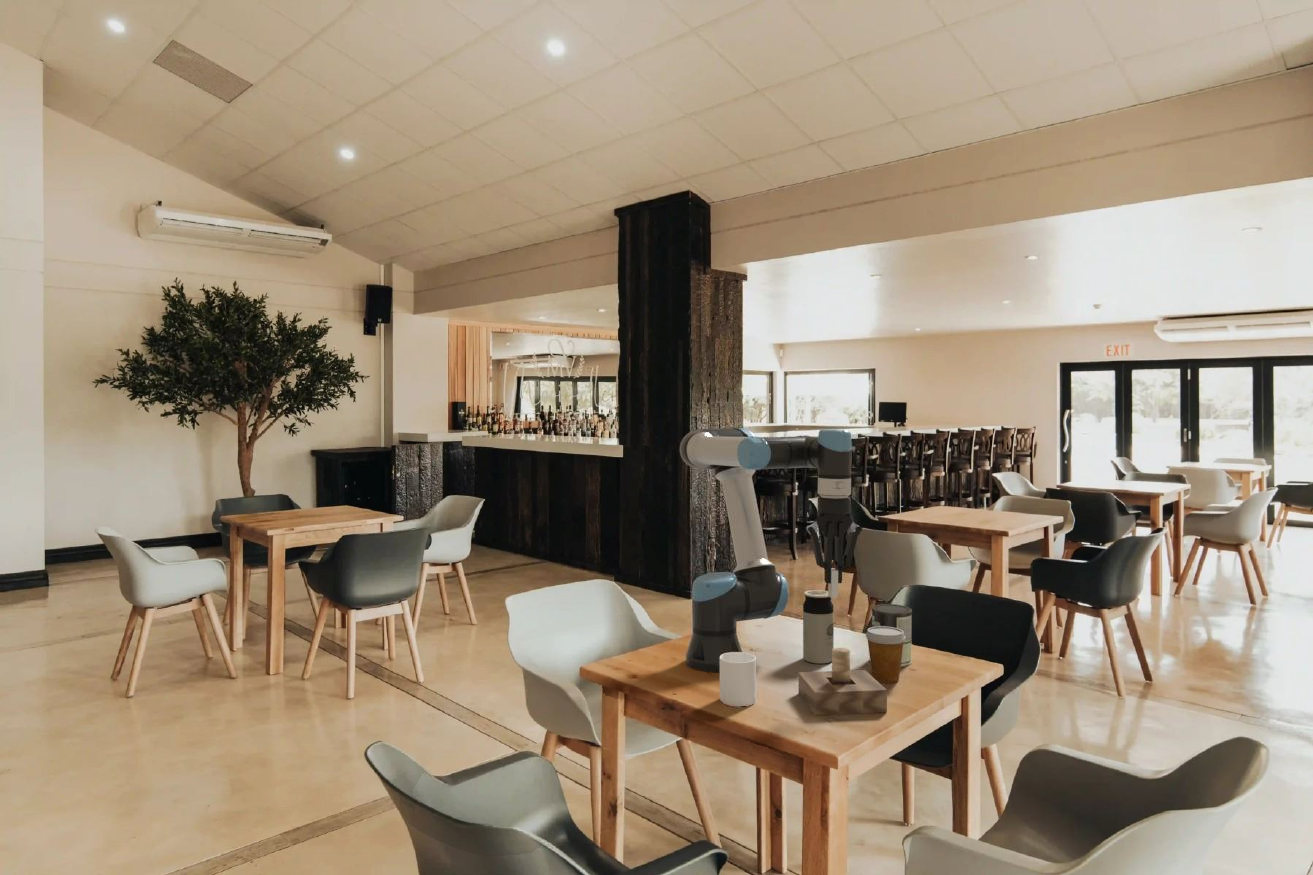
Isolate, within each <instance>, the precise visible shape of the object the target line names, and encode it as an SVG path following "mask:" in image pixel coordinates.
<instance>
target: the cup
mask: <svg viewBox="0 0 1313 875" xmlns="http://www.w3.org/2000/svg"><path fill="white" fill-rule="evenodd" d="M719 700H720V702H721V701H722V702H723V703H724V704H723V703H722V702H721V703H722V704H723V705H725V704H728V705H732V706H747V707H749V706H748V705H751V706H752V704H753V705H754V704H755V703H756V700H757V657H756V656H755V655H754V654H752V653H749V652H743V651H742V652H730V653H725V654H722V655H721V656H720V672H719Z"/></svg>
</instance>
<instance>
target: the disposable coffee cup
mask: <svg viewBox="0 0 1313 875" xmlns="http://www.w3.org/2000/svg"><path fill="white" fill-rule="evenodd" d="M865 638H866V639H867V646H868V654H869V655H868V656H869V661H870V667H871V676H872V677H873V678H874V679H875V680H876V681H878V682H879V683H884V684H885V683H886V684H893V683H897V682H899V680H900V672H901V667H900V666H901V658H902V650H903V643H904V640H905V638H906V637H905V636H904V632H903V630H901V629H898V628H894V627H886V626H877V627H872V626H871V627H869V628H867V631H866V633H865Z"/></svg>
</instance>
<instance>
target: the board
mask: <svg viewBox="0 0 1313 875" xmlns="http://www.w3.org/2000/svg"><path fill="white" fill-rule="evenodd" d="M797 675H798V676H797V677H798V695H799V696H800V698H801V699H802V700H803V701H804V703H805V704H806V705H807V706H808V708H809V709H810V710H811V712H812V713H813V715H815V716H833V715H834V716H835V715H858V714H859V715H862V714H882V713H883V712H887V713H888V696H887V695H888V693H887V692H888V690H887V689H886V687H884V686H883V685H882V684H881V682H878V681H876V680H875V679H874V678H873V677H872V674H870V673H869V672H868V671H867V670H866V669H856V670H854V669H853V670H851V669H850V685H832V670H831V671H830V670H828V671H823V670H822V671H801V672H798V674H797ZM881 712H882V713H881ZM883 714H884V713H883Z"/></svg>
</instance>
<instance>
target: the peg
mask: <svg viewBox="0 0 1313 875" xmlns="http://www.w3.org/2000/svg"><path fill="white" fill-rule="evenodd" d="M831 671H832V685H850V671H851V650H850V649H849V648H845V647H834V648H833V649H832V662H831Z"/></svg>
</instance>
